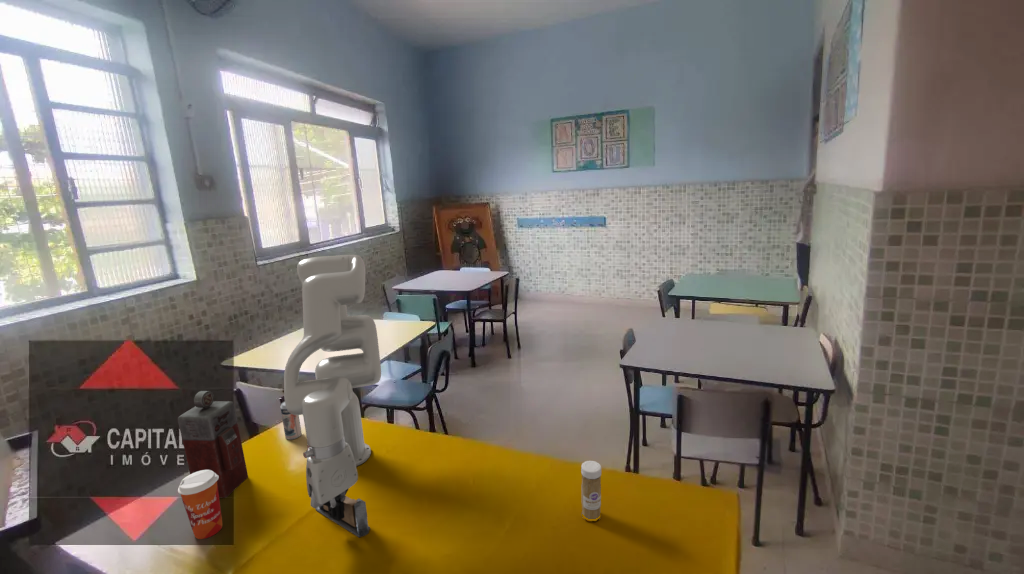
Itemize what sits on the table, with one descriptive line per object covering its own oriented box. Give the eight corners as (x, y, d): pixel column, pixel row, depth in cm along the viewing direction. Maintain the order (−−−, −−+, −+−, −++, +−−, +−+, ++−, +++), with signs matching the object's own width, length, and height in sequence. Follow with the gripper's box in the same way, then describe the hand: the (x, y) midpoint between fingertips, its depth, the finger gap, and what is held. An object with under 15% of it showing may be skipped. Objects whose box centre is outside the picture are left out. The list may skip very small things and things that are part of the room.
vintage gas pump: (234, 498, 117) (213, 400, 111) (194, 496, 118) (172, 399, 112) (256, 476, 126) (238, 384, 120) (219, 475, 127) (200, 384, 121)
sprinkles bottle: (588, 525, 103) (588, 474, 100) (577, 513, 107) (577, 463, 104) (605, 519, 105) (605, 468, 102) (593, 506, 109) (593, 457, 106)
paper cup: (186, 547, 101) (173, 493, 98) (191, 526, 108) (179, 474, 105) (226, 534, 105) (215, 482, 102) (229, 514, 111) (219, 464, 108)
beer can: (282, 440, 144) (276, 406, 141) (291, 432, 148) (286, 398, 146) (295, 441, 143) (290, 406, 140) (304, 432, 148) (299, 399, 145)
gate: (323, 508, 110) (320, 488, 109) (329, 504, 112) (326, 484, 110) (354, 527, 104) (351, 505, 103) (360, 522, 105) (358, 501, 104)
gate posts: (315, 510, 111) (311, 483, 110) (328, 501, 114) (324, 475, 113) (361, 538, 102) (357, 510, 100) (373, 529, 104) (370, 501, 103)
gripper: (304, 468, 91) (317, 545, 95) (365, 434, 103) (374, 504, 107) (285, 457, 95) (297, 531, 99) (346, 426, 107) (355, 493, 111)
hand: (337, 517), depth 103 cm, fingers closed
